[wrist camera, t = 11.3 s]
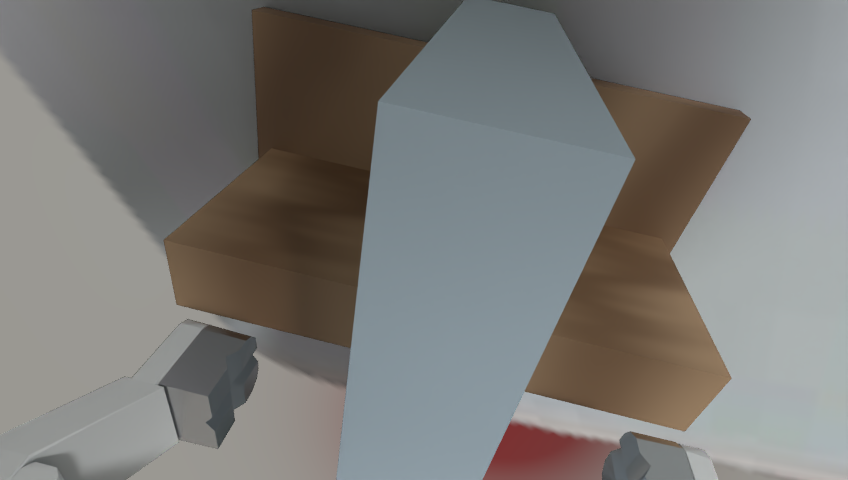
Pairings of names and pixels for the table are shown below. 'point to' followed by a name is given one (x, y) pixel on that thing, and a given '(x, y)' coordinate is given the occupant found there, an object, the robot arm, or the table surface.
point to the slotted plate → (471, 239)
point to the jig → (346, 209)
